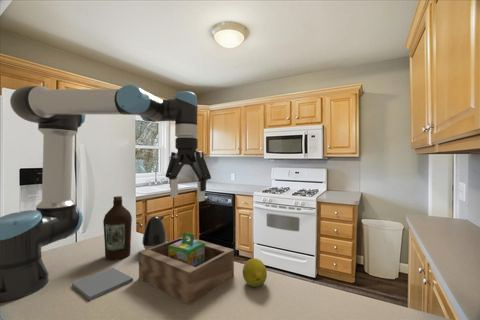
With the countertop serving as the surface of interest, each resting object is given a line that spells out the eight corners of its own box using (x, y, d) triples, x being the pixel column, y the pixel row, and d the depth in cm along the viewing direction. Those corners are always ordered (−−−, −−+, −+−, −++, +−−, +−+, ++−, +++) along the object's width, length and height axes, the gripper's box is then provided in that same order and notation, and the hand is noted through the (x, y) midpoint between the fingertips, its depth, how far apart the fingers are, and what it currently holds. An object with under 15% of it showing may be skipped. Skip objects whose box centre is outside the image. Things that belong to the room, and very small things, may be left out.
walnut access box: (138, 278, 80) (138, 251, 80) (184, 257, 97) (184, 235, 97) (190, 304, 65) (189, 272, 65) (233, 275, 82) (233, 249, 82)
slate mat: (72, 286, 75) (72, 283, 75) (113, 270, 86) (113, 267, 86) (89, 300, 67) (89, 296, 67) (132, 281, 78) (132, 278, 78)
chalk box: (167, 279, 79) (167, 236, 79) (185, 268, 87) (185, 228, 87) (188, 286, 75) (188, 240, 75) (205, 274, 83) (205, 232, 83)
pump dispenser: (171, 248, 107) (171, 215, 107) (152, 256, 98) (152, 220, 98) (156, 244, 112) (156, 212, 112) (137, 251, 103) (137, 217, 103)
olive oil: (108, 252, 102) (107, 195, 102) (134, 249, 105) (134, 194, 105) (99, 262, 92) (99, 199, 92) (128, 259, 94) (128, 198, 94)
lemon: (243, 276, 81) (243, 253, 81) (266, 277, 81) (266, 253, 81) (241, 294, 70) (241, 267, 70) (267, 295, 70) (267, 268, 70)
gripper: (221, 136, 77) (221, 200, 77) (172, 140, 91) (172, 194, 91) (205, 134, 70) (205, 204, 71) (155, 139, 85) (155, 197, 85)
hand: (187, 199), depth 81 cm, fingers open, 13 cm apart
